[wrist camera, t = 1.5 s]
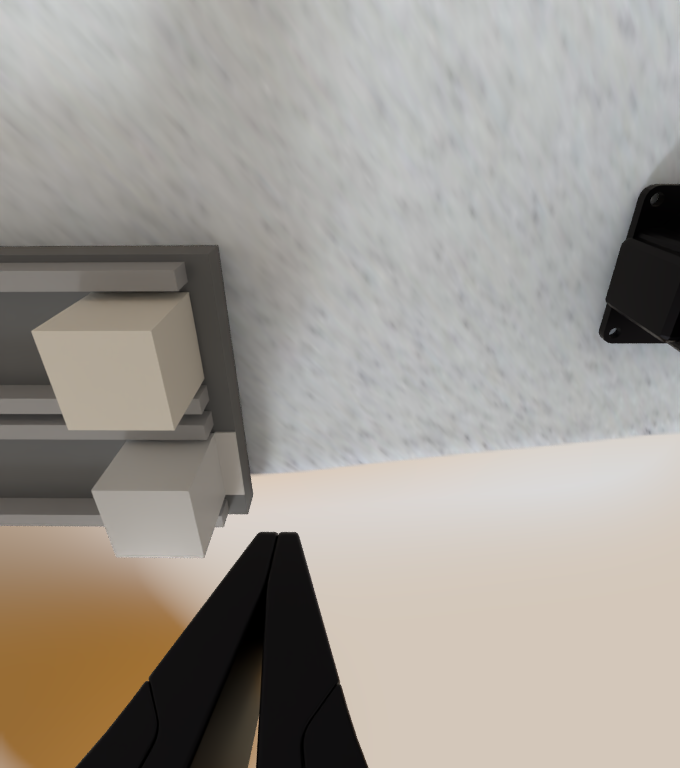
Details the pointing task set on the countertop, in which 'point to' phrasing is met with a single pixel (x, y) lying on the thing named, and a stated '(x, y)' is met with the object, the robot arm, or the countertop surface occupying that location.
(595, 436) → the countertop surface
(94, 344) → the beige cube
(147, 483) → the light grey cube
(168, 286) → the switch board
